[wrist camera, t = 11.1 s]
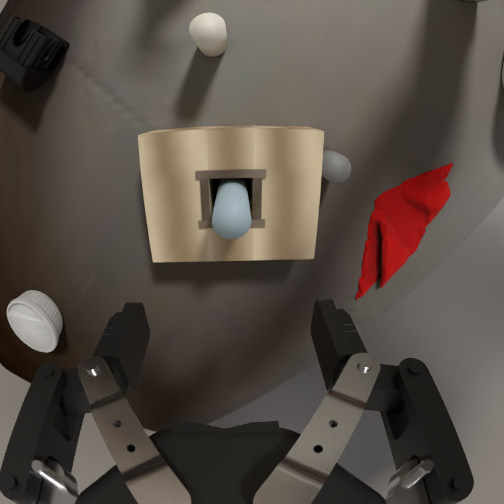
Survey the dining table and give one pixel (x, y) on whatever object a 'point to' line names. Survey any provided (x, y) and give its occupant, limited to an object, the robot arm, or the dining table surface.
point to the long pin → (231, 209)
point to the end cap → (29, 52)
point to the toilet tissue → (503, 75)
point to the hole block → (231, 166)
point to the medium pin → (209, 34)
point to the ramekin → (35, 320)
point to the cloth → (401, 224)
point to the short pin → (335, 166)
